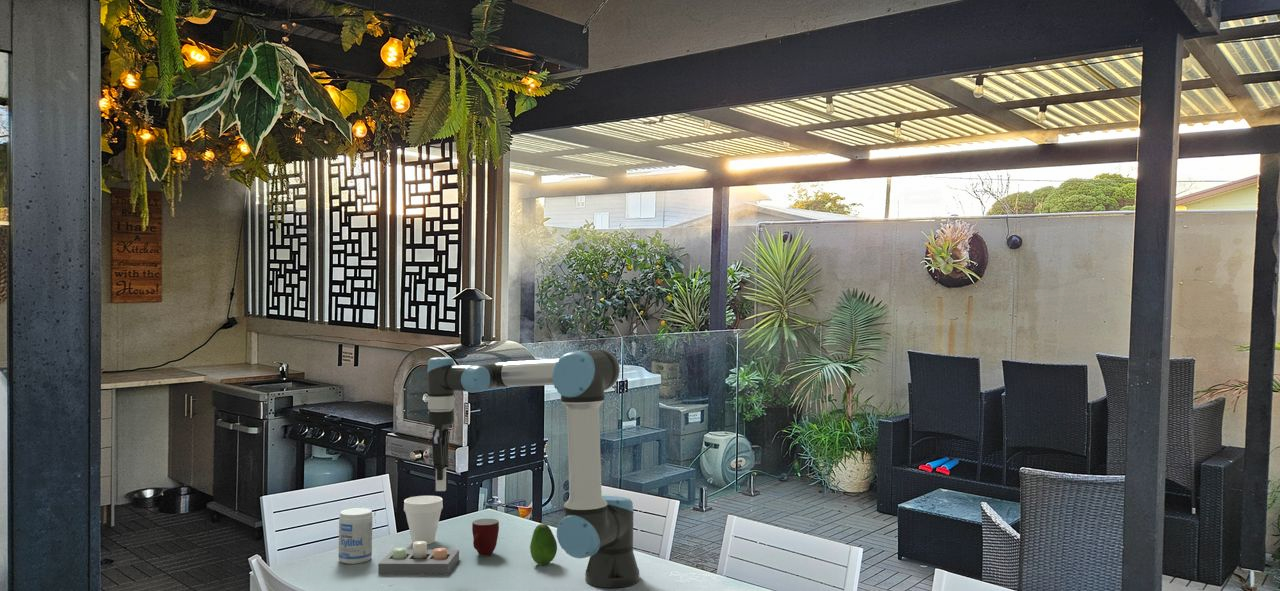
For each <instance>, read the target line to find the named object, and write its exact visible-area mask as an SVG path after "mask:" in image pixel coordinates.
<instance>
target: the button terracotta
mask: <svg viewBox="0 0 1280 591" xmlns="http://www.w3.org/2000/svg"><path fill="white" fill-rule="evenodd" d="M432 550H433V559H447V550H448V548H446V547H437V548H433V549H432Z"/></svg>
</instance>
